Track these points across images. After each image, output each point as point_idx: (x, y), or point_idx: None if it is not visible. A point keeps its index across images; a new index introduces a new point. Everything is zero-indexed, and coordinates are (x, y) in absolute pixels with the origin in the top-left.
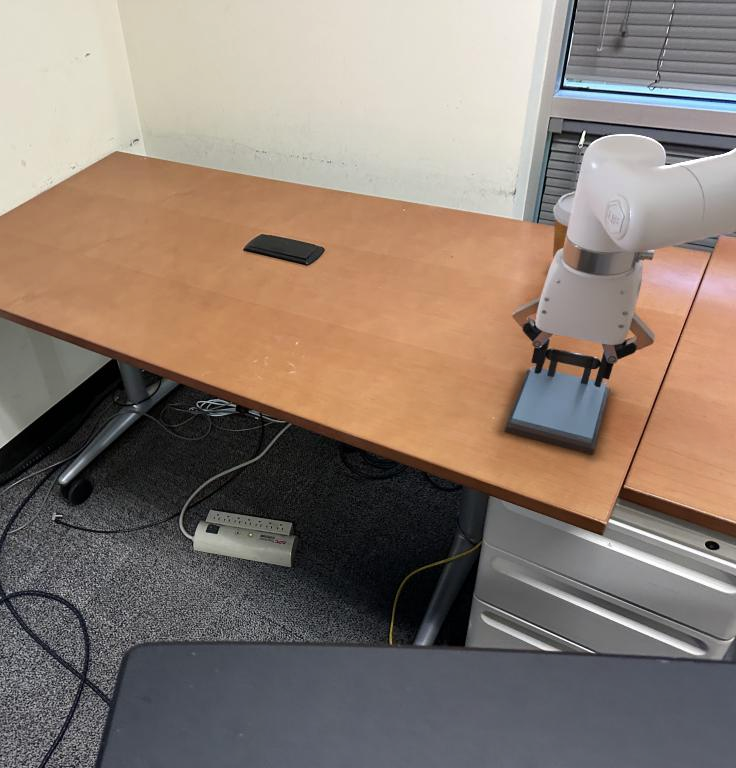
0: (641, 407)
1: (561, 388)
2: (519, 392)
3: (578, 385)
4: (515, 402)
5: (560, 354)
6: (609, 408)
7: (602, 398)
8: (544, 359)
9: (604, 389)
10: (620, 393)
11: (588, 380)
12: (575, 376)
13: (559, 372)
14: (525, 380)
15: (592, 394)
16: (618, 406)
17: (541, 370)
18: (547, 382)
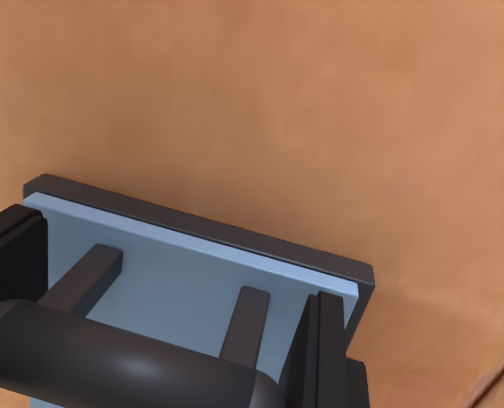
0: (489, 333)
1: (160, 336)
2: None
3: (227, 319)
4: None
5: (36, 398)
6: (358, 340)
7: None
8: (12, 295)
9: None
10: (427, 259)
11: (273, 286)
12: (216, 260)
13: (143, 238)
14: None
15: (281, 366)
16: (396, 330)
17: (46, 289)
18: (103, 302)
